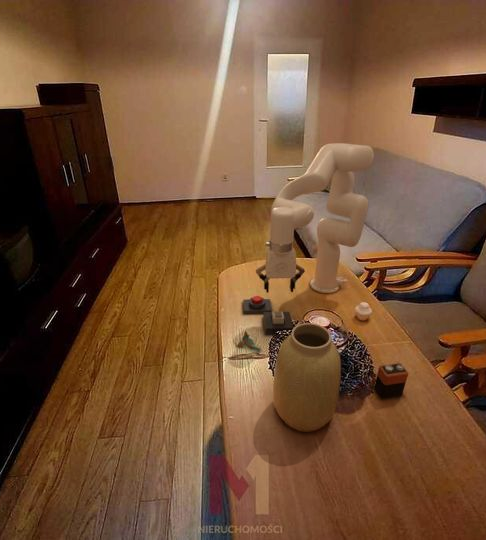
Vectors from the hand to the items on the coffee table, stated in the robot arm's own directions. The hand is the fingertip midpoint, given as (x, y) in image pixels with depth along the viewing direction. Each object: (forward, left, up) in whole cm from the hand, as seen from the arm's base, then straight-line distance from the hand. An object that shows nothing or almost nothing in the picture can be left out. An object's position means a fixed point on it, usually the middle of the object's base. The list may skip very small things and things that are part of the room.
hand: (279, 290), depth 122 cm
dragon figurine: (+11, +11, -16) cm, 22 cm away
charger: (0, 0, -16) cm, 16 cm away
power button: (+7, -12, -13) cm, 19 cm away
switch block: (+7, -12, -16) cm, 21 cm away
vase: (-3, +38, -16) cm, 41 cm away
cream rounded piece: (-33, -4, -16) cm, 37 cm away
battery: (-29, +32, -16) cm, 46 cm away
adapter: (0, 0, -16) cm, 16 cm away
